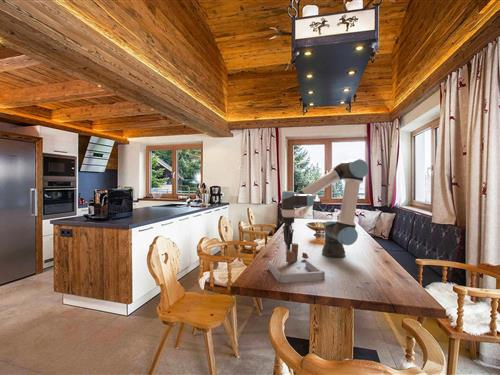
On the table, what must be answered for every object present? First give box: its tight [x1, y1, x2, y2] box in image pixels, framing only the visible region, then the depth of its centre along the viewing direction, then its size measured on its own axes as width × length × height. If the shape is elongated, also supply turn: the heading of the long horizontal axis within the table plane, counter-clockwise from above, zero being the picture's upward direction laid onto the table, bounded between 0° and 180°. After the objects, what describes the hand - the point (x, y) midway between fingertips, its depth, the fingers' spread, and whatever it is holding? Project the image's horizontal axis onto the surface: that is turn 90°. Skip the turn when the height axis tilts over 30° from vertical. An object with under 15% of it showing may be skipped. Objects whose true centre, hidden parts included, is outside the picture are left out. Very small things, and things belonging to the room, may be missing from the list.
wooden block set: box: [285, 242, 309, 264], centre depth 158 cm, size 18×9×10 cm, turn 135°
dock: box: [268, 259, 326, 284], centre depth 137 cm, size 24×22×4 cm
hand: (287, 254), depth 154 cm, fingers closed, pressing on wooden block set
